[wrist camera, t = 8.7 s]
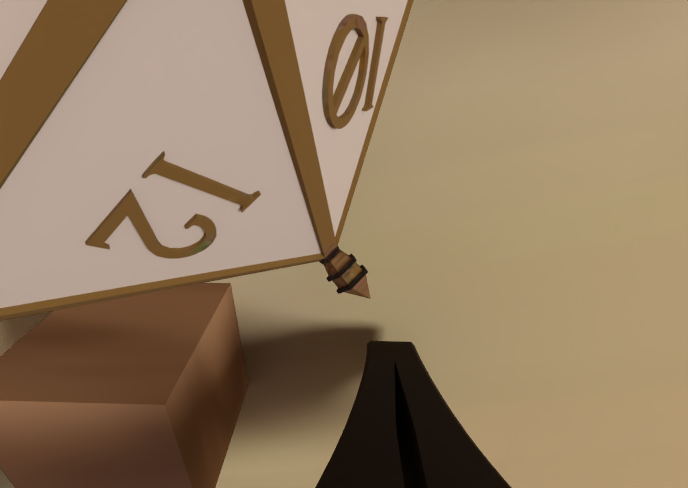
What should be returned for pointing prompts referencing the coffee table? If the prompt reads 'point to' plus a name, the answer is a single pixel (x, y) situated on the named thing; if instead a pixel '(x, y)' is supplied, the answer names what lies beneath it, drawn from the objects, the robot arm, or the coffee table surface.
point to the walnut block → (125, 393)
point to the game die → (182, 141)
